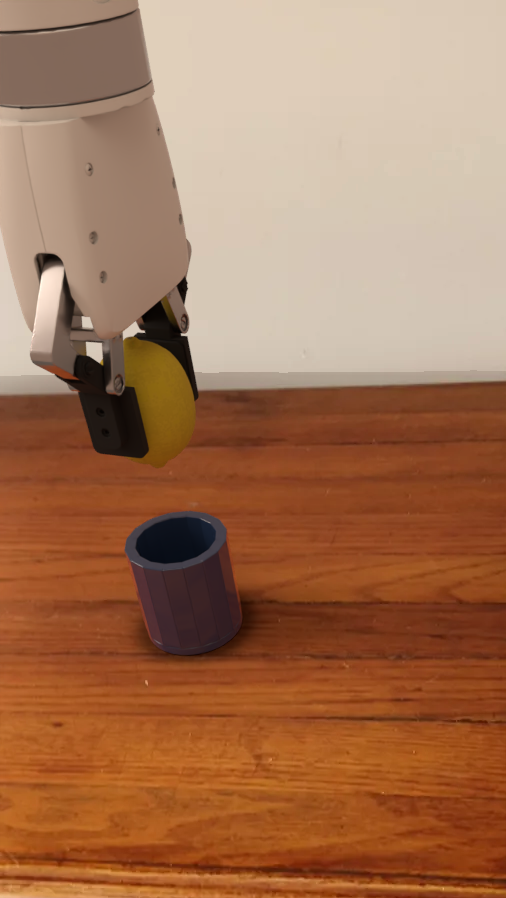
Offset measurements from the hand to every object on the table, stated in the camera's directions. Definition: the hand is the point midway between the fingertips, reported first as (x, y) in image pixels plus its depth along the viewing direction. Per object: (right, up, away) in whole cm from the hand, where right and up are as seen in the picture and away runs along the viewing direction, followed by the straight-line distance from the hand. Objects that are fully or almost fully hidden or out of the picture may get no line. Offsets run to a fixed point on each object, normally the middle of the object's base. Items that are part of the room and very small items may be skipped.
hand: (148, 422), depth 55 cm
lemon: (0, -2, +2) cm, 3 cm away
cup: (+1, -11, +10) cm, 15 cm away
